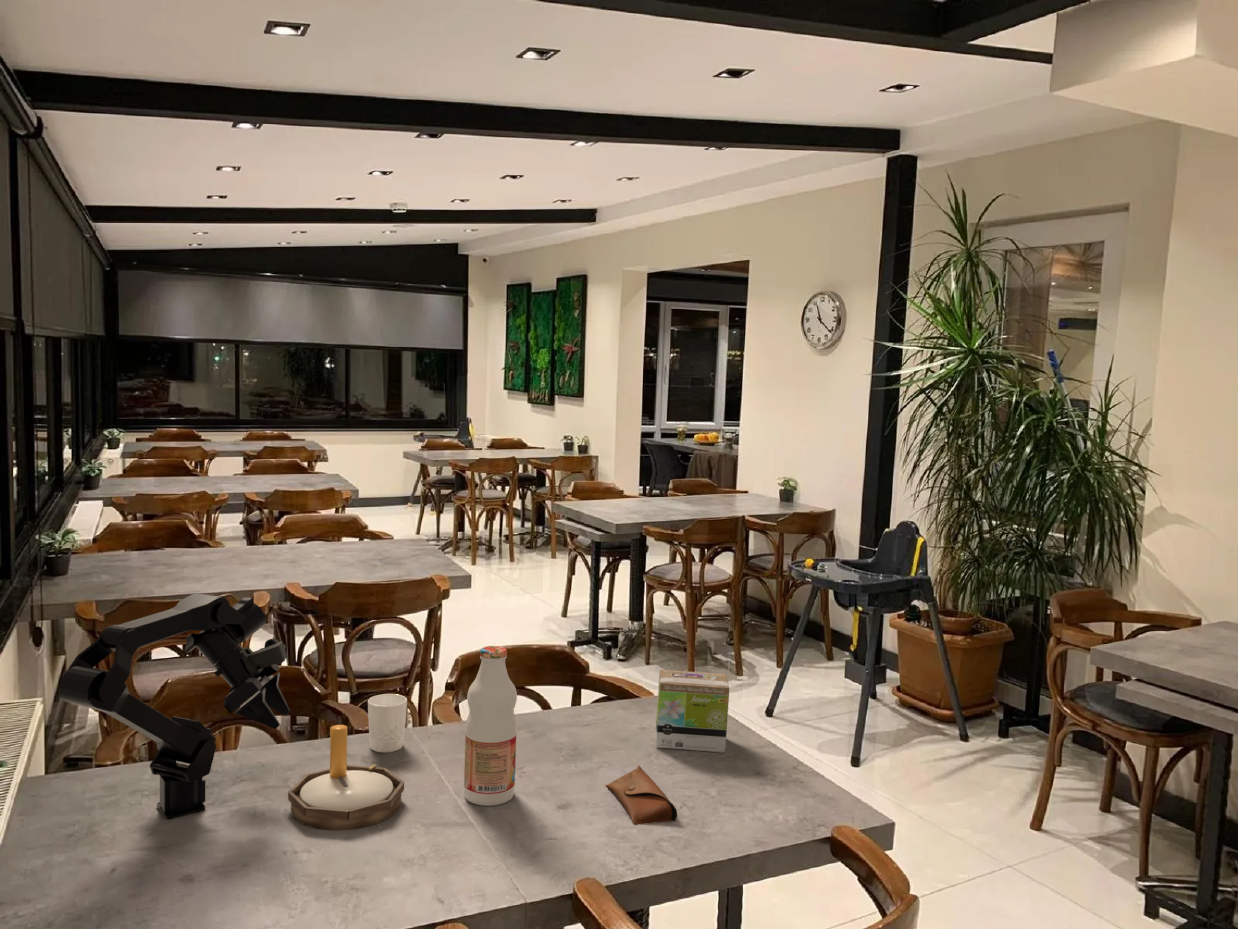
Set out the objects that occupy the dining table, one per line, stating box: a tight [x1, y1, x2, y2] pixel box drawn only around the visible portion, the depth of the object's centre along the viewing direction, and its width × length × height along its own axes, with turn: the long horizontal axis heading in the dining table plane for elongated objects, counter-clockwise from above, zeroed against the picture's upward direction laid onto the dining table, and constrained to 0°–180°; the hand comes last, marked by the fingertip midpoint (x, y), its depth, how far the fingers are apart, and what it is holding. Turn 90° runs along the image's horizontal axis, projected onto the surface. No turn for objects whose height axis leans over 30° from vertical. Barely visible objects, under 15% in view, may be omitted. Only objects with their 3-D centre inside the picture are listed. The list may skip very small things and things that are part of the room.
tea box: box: [655, 669, 730, 754], centre depth 208 cm, size 15×10×15 cm
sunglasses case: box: [604, 765, 678, 826], centre depth 178 cm, size 18×7×7 cm
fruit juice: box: [463, 645, 518, 807], centre depth 177 cm, size 9×9×28 cm
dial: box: [300, 724, 393, 810], centre depth 171 cm, size 16×16×10 cm
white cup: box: [367, 693, 408, 753], centre depth 199 cm, size 8×8×10 cm
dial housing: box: [287, 763, 405, 831], centre depth 172 cm, size 19×19×4 cm
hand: (283, 720), depth 175 cm, fingers open, 9 cm apart
